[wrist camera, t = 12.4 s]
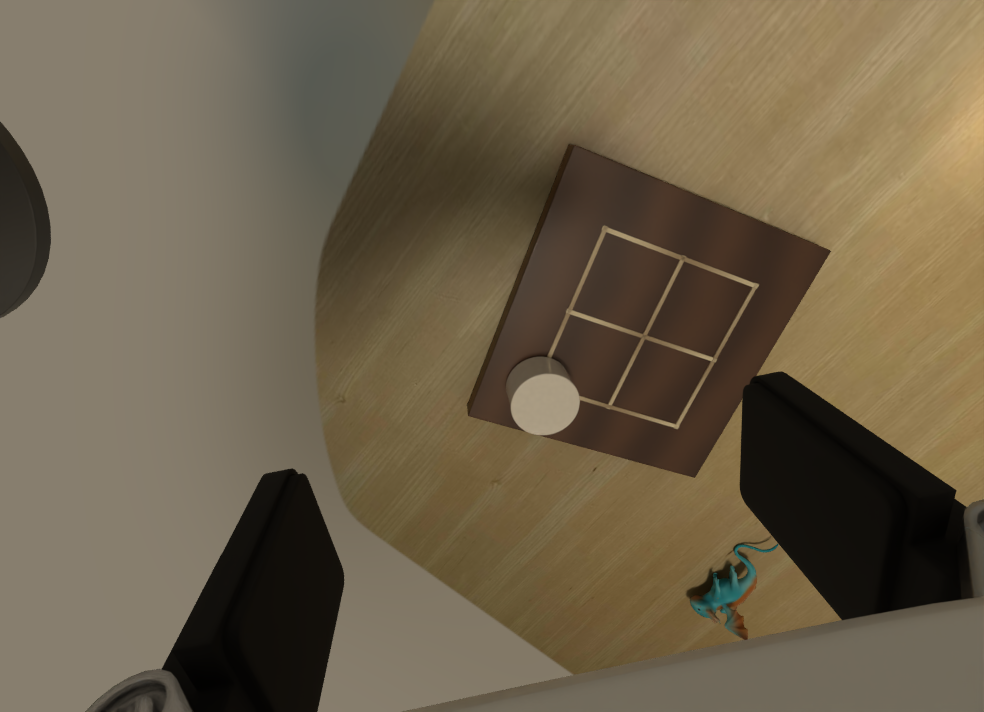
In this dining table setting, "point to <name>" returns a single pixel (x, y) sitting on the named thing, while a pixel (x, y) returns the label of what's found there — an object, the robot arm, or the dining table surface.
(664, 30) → the dining table surface
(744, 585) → the dragon figurine
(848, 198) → the dining table surface
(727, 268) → the board
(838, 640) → the robot arm
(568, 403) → the beige round puck
